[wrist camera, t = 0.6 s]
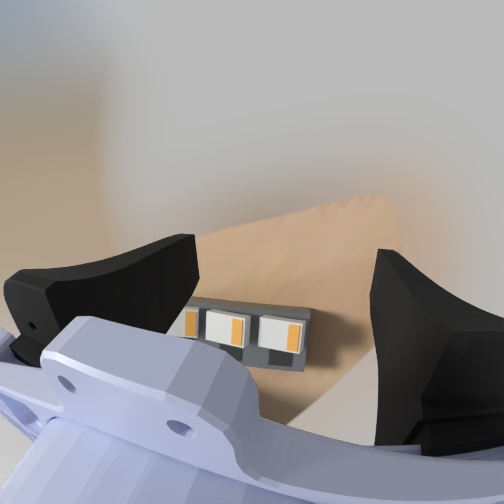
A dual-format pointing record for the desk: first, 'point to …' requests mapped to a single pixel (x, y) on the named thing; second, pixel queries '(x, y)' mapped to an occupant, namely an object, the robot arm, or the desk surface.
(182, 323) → the rocker
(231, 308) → the rocker switch panel
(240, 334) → the block
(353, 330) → the desk surface
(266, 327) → the rocker
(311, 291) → the desk surface
